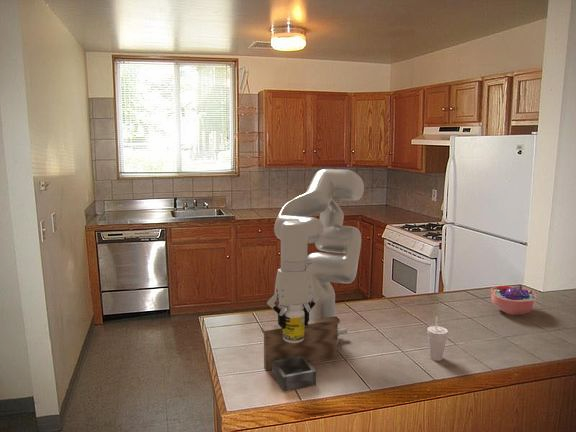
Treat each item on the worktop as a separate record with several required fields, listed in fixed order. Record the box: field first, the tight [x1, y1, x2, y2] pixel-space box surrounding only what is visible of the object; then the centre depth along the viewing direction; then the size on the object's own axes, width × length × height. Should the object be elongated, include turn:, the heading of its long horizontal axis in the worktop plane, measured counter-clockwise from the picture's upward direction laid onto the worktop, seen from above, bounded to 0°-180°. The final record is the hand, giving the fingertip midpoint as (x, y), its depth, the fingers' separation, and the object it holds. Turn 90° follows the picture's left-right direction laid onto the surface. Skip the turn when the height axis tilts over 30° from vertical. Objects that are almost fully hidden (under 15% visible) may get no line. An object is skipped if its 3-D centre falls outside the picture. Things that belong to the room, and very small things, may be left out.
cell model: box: [490, 285, 538, 316], centre depth 188 cm, size 17×20×11 cm
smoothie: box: [426, 316, 449, 362], centre depth 149 cm, size 6×6×14 cm
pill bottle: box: [283, 304, 305, 343], centre depth 133 cm, size 6×6×11 cm
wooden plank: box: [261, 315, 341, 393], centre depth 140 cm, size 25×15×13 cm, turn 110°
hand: (293, 325), depth 134 cm, fingers closed on pill bottle, 6 cm apart
